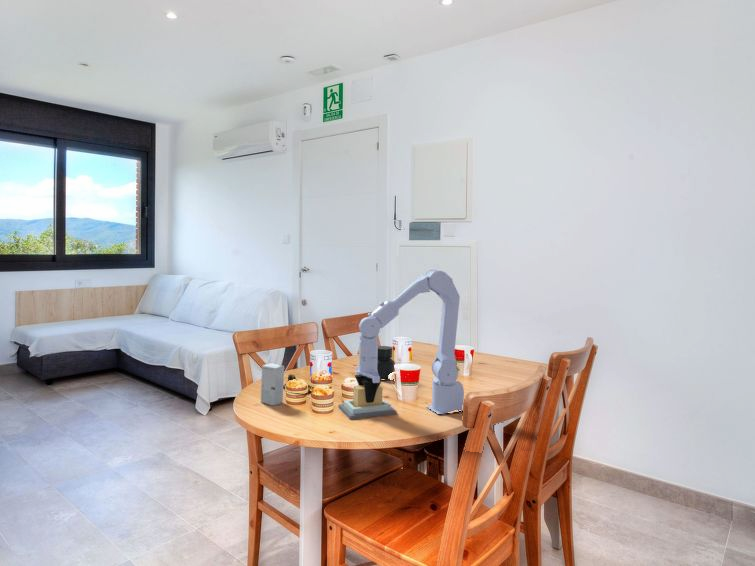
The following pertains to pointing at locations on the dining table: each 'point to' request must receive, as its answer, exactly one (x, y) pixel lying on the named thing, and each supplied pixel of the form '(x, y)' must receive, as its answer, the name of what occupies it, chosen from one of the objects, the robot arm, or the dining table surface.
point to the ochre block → (360, 397)
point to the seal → (291, 377)
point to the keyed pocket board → (366, 410)
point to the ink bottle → (385, 361)
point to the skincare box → (272, 384)
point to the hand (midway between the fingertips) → (367, 399)
